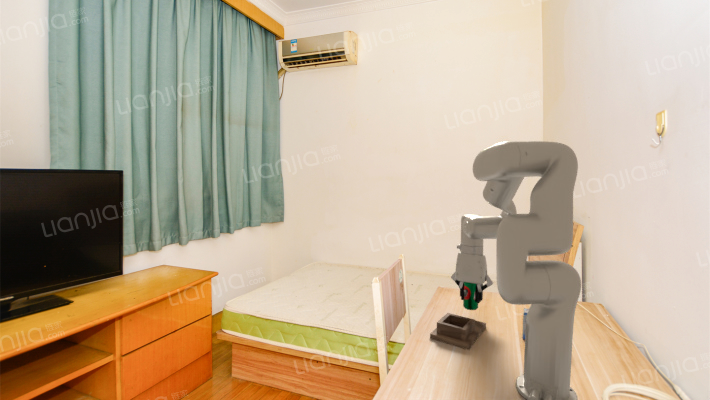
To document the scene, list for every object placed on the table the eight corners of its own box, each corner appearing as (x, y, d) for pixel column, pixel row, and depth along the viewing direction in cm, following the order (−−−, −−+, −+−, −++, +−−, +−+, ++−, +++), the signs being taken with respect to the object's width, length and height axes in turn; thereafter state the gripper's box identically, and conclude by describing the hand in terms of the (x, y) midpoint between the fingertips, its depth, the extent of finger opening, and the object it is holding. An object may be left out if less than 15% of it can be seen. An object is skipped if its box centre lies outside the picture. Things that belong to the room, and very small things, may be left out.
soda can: (477, 311, 118) (477, 277, 118) (462, 309, 121) (462, 275, 120) (479, 306, 123) (479, 273, 122) (464, 304, 125) (464, 272, 125)
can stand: (468, 349, 100) (468, 333, 100) (430, 338, 107) (430, 322, 107) (485, 327, 115) (486, 312, 114) (451, 318, 122) (451, 304, 121)
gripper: (444, 248, 123) (444, 298, 124) (494, 254, 113) (493, 308, 114) (452, 245, 129) (451, 293, 130) (499, 250, 119) (498, 302, 120)
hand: (471, 299), depth 122 cm, fingers closed on soda can, 4 cm apart
